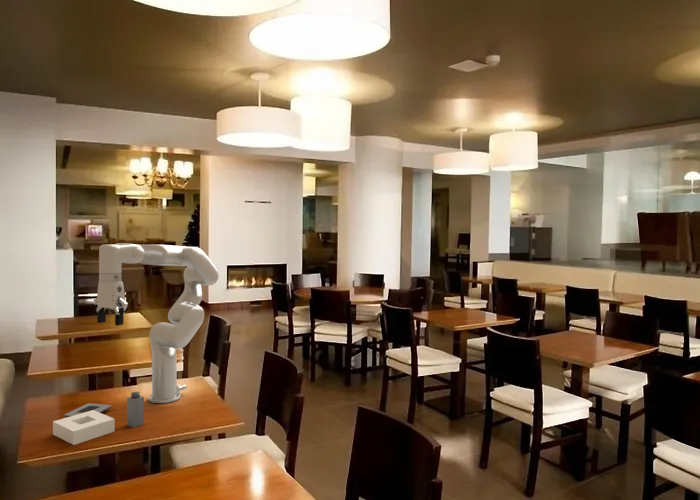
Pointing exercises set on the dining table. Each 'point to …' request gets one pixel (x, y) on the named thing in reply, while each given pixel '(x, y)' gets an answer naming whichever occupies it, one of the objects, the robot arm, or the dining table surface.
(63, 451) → the dining table surface
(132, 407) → the plug
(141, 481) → the dining table surface
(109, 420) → the socket
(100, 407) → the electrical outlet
